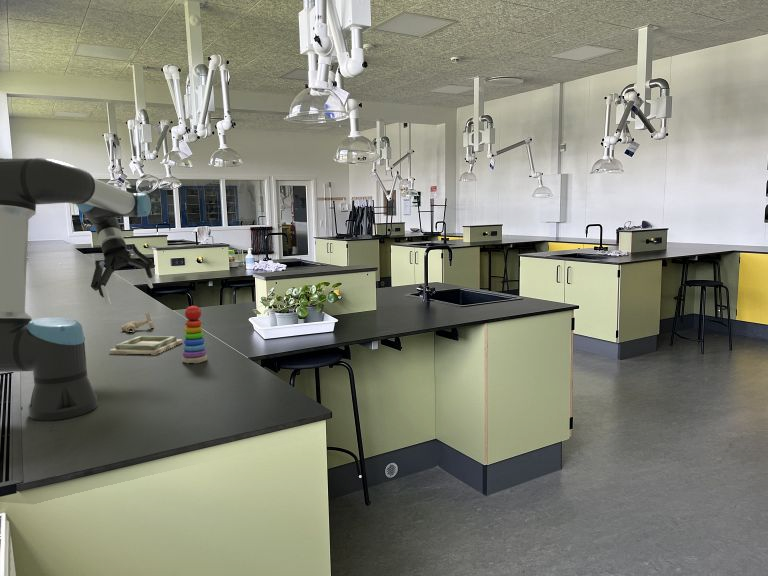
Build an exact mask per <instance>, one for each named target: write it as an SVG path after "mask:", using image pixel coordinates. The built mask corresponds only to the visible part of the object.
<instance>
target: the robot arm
mask: <svg viewBox="0 0 768 576" xmlns="http://www.w3.org/2000/svg"><path fill="white" fill-rule="evenodd" d="M52 204H54V205H55V204H71V205H72V204H73V205H76V207H77V208H78V210H79V211H80V212H81V213H82V214H83V215H84V217H85V218H86V219H87V220H88V221H89V222H90V223H91V224H92V226H93V227H94V229H95V233H96V234H97V238H98V242H99V244H100V247H101V250H102V255H103V257H104V258H103V260H101V261H99V260H96V261H94V265H95V269H94V272H93V276H92V281H91V284H90V287H91V289H92V290H94V291H98V293H99V295H100V296H101V298H104V301H105V303H106V304H107V305H108V306H109V307H110V306H112V305H113V304H112V302H111V301H112V300H111V298H110V295H109V291H108V288H107V287H106V286H107V284H108V282H109V280H110V278H111V276H112V274H113V273H114V272H115V271H116V270H119V269H120V268H122V267H126V266H127V265H130V266H134V267H136V268H139V269H141V271H142V272H143V275H144V278H145V281H146V284H147V286H148V287H149V288H150V289H153V288H154V286H153V283H152V281H151V279H152V278H153V276H154V275H153V273H152V268H155V267H156V264H155V263H154V262H153V260H151V259H150V258H149V257H147V256H146V255H144V253H142V252H140V250H139V249H138V248H137V246H135V245H133V246H132V248H131V249H130V250H129V249H128V246H127V244H126V241H125V238H124V235H123V232H122V229H121V226H120V223H119V219H118V218H126V217H127V218H131V217H132V218H133V217H134V218H135V217H137V218H140V217H147V216H149V215H150V213H151V210H152V202H151V199H150V196H149V195H148V194H147V193H140V192H137V193H134V192H133V193H132V192H129V191H127V190H125V189H121V188H119V187H117V186H114V185H112V184H110V183H107V182H105V181H102V180H99V179H97V178H94V177H93V175H92V174H91V173H90V172H88V171H86V170H84V169H82V168H80V167H77V166H75V165H72V164H69V163H66V162H63V161H59V160H55V159H50V158H45V157H44V158H43V157H36V158H35V157H34V158H3V157H2V158H1V157H0V373H9V372H10V373H13V372H15V373H16V372H18V373H19V372H32V374H33V385H34V386H33V388H32V389H33V390H32V393H31V398H30V403H29V405H28V415H29V418H30V419H32V420H33V421H34V420H35V421H45V422H46V421H58V420H60V421H61V420H66V419H71V418H74V417H79V416H81V415H85V414H87V413H89V412H92V411H93V410H95V409H97V408H98V404H99V402H98V395H97V394H96V393H95V391H94V388H93V386H92V384H91V382H90V379H89V377H88V367H87V356H86V355H87V354H86V344H85V339H86V337H85V336H84V330H83V325H82V324H81V323H80V322H79V321H77V320H75V319H71V318H67V317H54V316H53V317H39V318H34V319H32V318H33V317H31V316H30V315H29V313H27V312H26V294H27V293H26V291H27V289H26V288H27V271H28V270H27V268H28V267H27V265H28V245H29V243H28V241H29V237H28V236H29V220H30V219H31V218H33V216H35V215H36V213H37V211H36V209H37V205H52ZM132 255H133V256H137V257H138V258H139V259H141V260H142V261H143V262H141V261H139V260H136V259H134V258H131V256H132ZM103 269H104V270H103Z"/></svg>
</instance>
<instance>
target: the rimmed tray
mask: <svg viewBox="0 0 768 576" xmlns="http://www.w3.org/2000/svg"><path fill="white" fill-rule="evenodd" d="M181 343H182V344H183V339H178V338H177V336H176V335H175V336H172V335H170V336H169V335H168V336H167V335H139V336H136V337H132V338H130V339H128V340H125V341H122V342H120V343H117V344H115V347H114V348H111V349H109V350H108V351H109V355H127V354H151V355H150V356H157V354H158V355H160V354H162V353H164V352H167V351H169V350H171V349H173V348H175V347H177V346H176V345H178V346H180V345H182V344H181ZM179 344H180V345H179ZM174 346H175V347H174ZM172 347H173V348H172ZM170 348H171V349H170ZM168 349H169V350H168ZM166 350H167V351H166ZM163 351H164V352H163ZM161 352H162V353H161ZM159 353H160V354H159Z"/></svg>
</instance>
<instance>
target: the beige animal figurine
mask: <svg viewBox="0 0 768 576" xmlns="http://www.w3.org/2000/svg"><path fill="white" fill-rule="evenodd" d="M144 315H145V317H146V320H140V321H137V320H135V321H129V322H127V323H125V324H123V325H121V326H120V328H121V332H123V331H124V332H127V333H128V332H130V331H132V332H133V333H134V332H136V330H137V329H139V328H140V327H142V326H145V325H147V324H148V326H149V329H150V328H154V329H155V327H154V322H153V317H152V316H151V314H150V312H145V313H144ZM126 330H127V331H126Z"/></svg>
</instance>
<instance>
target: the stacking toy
mask: <svg viewBox="0 0 768 576" xmlns="http://www.w3.org/2000/svg"><path fill="white" fill-rule="evenodd" d="M201 315H202V310H201V309H200V308H199V306H197V305H196V306H195V305H190V306H188V307H187V308H186V309H185V312H184V316H185V318H186V319H187V320H186V321H185V323H184V324H185V328H184V332H185V333H184V338H185V339H184V340H183V343H184V345H183V351H182V352H181V353H182V356H183V357H182V358H181V360H182V362H184V364H189V363H194V364H201V363H203V362H206V361H207V360H208V355H207V350H206V344H205V339H204V332H203V327H202V326H201V325H202V320H200V318H201Z"/></svg>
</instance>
